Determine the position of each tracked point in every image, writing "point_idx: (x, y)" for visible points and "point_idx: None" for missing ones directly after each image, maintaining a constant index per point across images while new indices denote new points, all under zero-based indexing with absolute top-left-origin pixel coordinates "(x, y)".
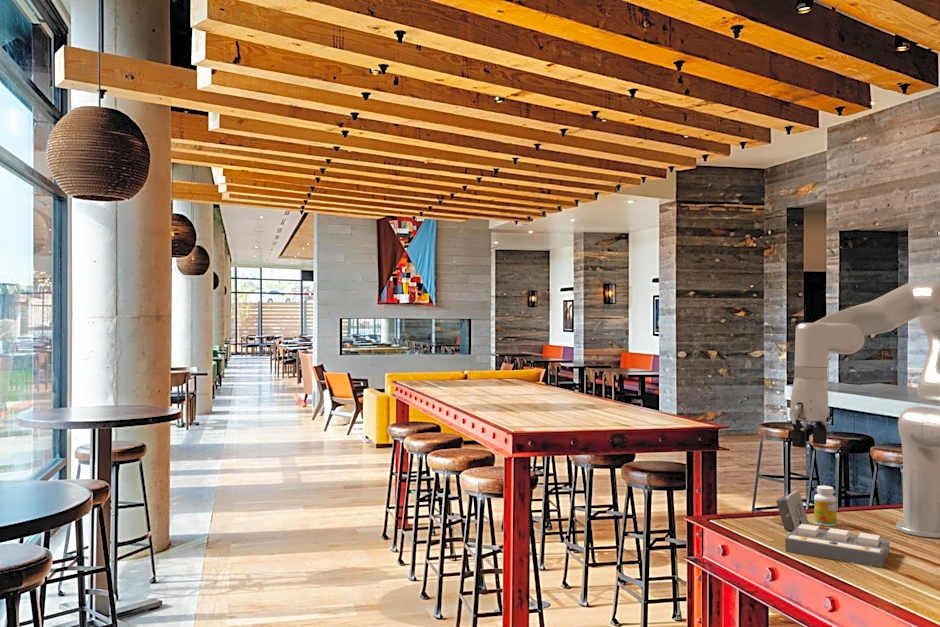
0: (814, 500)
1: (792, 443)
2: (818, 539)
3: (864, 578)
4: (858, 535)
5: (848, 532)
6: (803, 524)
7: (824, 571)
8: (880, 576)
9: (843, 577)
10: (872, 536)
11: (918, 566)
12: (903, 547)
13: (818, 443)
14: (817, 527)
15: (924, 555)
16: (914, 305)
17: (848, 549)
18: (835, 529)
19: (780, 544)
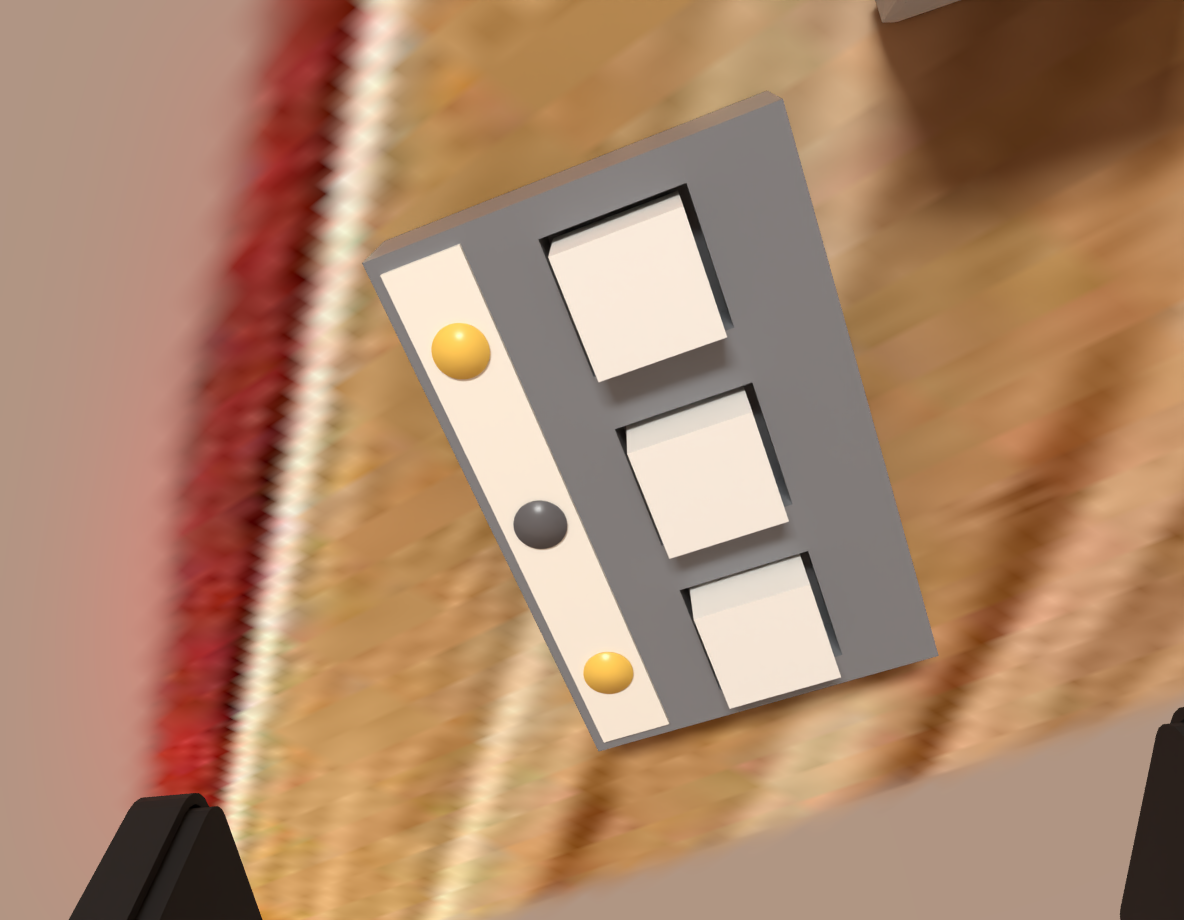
0: None
1: (119, 839)
2: (533, 426)
3: (374, 723)
4: (876, 513)
5: (767, 524)
6: (677, 229)
7: (280, 576)
8: (470, 747)
9: (292, 667)
10: (781, 661)
11: (779, 776)
12: (1083, 606)
13: (1138, 827)
14: (687, 345)
15: (1002, 723)
16: None
17: (532, 613)
18: (747, 450)
19: (492, 116)
